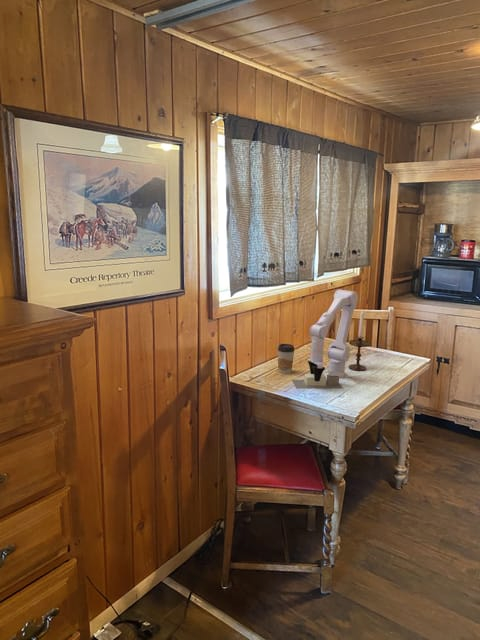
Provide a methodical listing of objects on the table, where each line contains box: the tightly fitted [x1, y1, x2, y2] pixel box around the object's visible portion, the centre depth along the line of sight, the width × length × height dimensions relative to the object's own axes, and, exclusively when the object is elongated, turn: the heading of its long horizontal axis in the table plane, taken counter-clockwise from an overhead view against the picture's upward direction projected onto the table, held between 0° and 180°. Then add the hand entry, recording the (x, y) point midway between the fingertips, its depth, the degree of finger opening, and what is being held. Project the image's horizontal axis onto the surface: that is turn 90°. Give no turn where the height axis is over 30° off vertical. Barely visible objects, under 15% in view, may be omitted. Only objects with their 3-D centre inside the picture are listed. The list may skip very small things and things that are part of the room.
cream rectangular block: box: [303, 373, 327, 386], centre depth 228 cm, size 5×9×4 cm, turn 95°
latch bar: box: [328, 371, 345, 377], centre depth 228 cm, size 2×7×2 cm, turn 95°
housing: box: [291, 374, 344, 390], centre depth 228 cm, size 12×22×6 cm, turn 95°
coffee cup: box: [277, 343, 295, 375], centre depth 244 cm, size 8×8×15 cm
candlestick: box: [348, 304, 371, 372], centre depth 255 cm, size 11×11×35 cm
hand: (315, 378), depth 228 cm, fingers open, 7 cm apart
